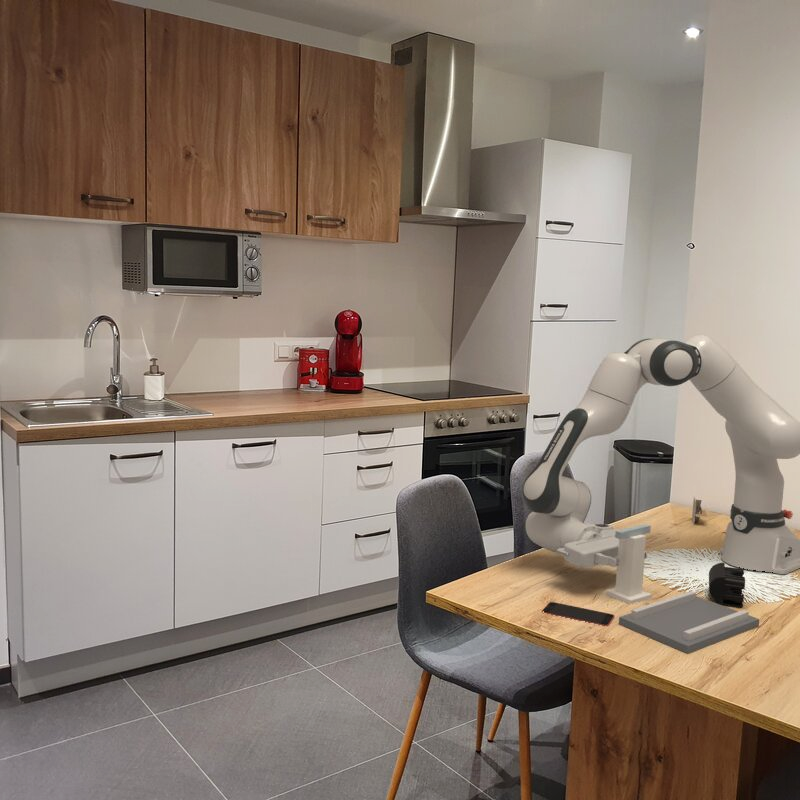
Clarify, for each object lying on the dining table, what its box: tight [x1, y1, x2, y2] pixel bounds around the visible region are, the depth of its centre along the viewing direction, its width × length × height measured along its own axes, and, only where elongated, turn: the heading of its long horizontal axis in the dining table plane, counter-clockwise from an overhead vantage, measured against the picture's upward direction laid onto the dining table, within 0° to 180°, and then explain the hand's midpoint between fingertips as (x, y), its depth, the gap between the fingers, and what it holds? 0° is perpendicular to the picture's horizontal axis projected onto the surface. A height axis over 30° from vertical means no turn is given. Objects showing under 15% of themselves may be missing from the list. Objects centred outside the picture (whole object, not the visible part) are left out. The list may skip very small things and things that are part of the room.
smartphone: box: [541, 601, 616, 627], centre depth 172 cm, size 7×1×14 cm
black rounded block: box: [708, 562, 746, 609], centre depth 183 cm, size 10×7×7 cm
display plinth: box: [618, 590, 760, 654], centre depth 168 cm, size 24×16×3 cm, turn 126°
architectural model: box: [691, 496, 708, 526], centre depth 243 cm, size 3×7×7 cm, turn 165°
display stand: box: [604, 523, 653, 605], centre depth 182 cm, size 7×10×16 cm
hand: (631, 559), depth 182 cm, fingers open, 8 cm apart
